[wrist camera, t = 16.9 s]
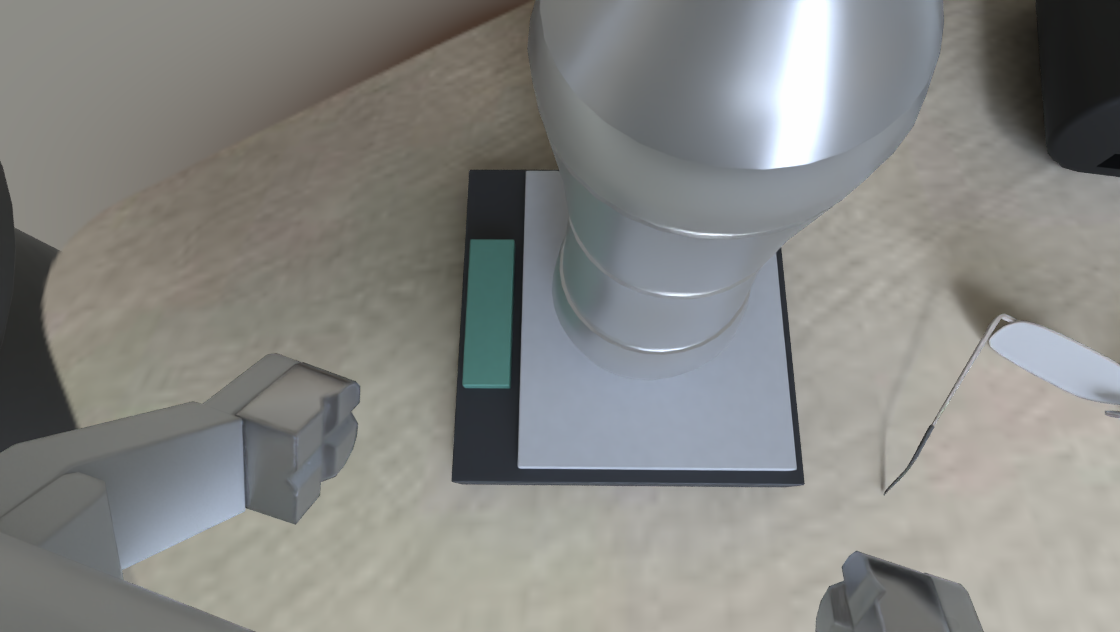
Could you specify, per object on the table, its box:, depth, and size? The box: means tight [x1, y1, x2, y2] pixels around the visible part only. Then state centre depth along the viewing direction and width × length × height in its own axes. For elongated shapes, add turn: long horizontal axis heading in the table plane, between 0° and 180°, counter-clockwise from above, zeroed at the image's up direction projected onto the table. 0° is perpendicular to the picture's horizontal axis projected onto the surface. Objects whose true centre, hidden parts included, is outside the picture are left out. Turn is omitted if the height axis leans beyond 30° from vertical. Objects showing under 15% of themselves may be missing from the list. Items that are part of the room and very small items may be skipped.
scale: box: [452, 170, 804, 487], centre depth 26 cm, size 13×13×3 cm
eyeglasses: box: [884, 314, 1120, 495], centre depth 23 cm, size 14×8×4 cm, turn 56°
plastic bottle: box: [527, 0, 944, 380], centre depth 15 cm, size 6×7×20 cm
